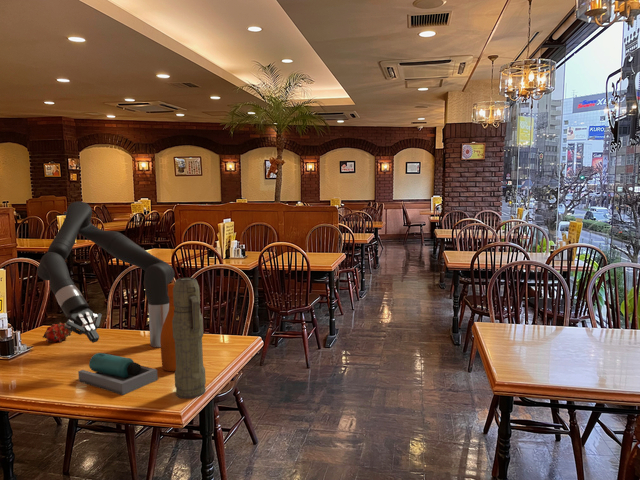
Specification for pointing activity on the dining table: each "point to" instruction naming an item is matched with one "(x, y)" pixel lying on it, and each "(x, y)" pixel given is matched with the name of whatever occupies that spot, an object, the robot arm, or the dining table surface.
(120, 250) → the robot arm
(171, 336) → the wine bottle
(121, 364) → the beverage bottle
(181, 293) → the thermos
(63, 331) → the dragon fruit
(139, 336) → the dining table surface
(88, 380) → the U-rest
